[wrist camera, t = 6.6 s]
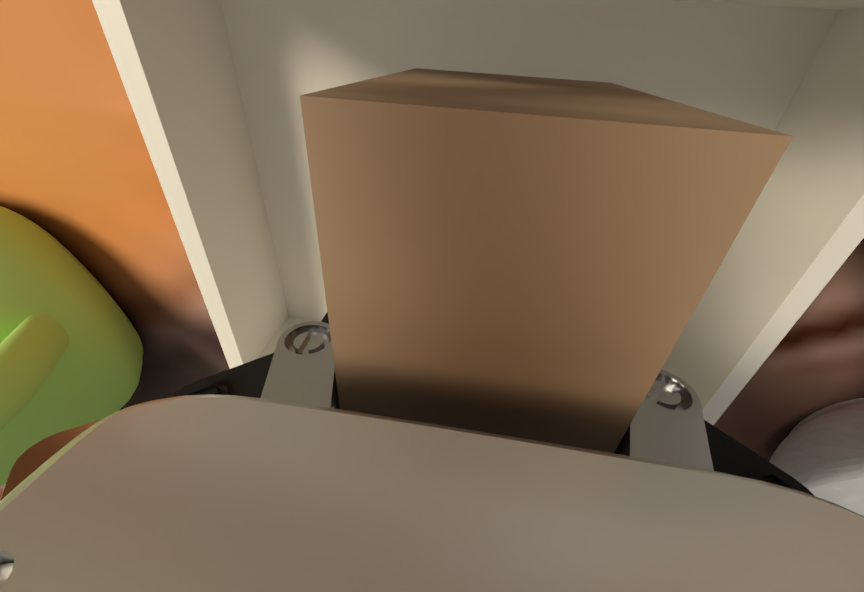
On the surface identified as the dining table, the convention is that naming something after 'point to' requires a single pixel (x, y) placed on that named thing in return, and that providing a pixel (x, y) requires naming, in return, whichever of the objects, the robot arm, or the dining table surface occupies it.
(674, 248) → the capped box
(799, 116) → the carton
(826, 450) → the spoon rest
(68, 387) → the teapot
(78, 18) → the dining table surface
